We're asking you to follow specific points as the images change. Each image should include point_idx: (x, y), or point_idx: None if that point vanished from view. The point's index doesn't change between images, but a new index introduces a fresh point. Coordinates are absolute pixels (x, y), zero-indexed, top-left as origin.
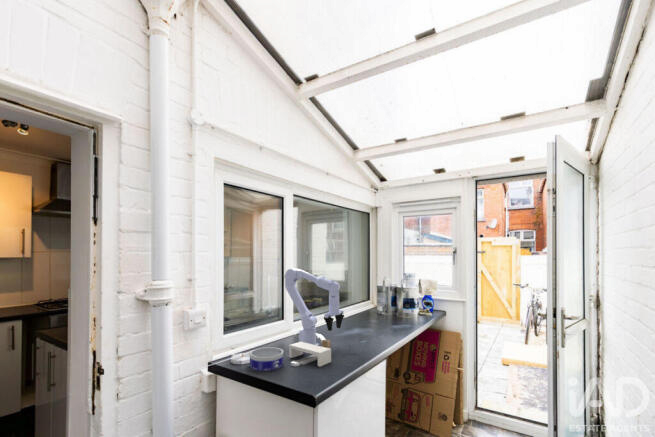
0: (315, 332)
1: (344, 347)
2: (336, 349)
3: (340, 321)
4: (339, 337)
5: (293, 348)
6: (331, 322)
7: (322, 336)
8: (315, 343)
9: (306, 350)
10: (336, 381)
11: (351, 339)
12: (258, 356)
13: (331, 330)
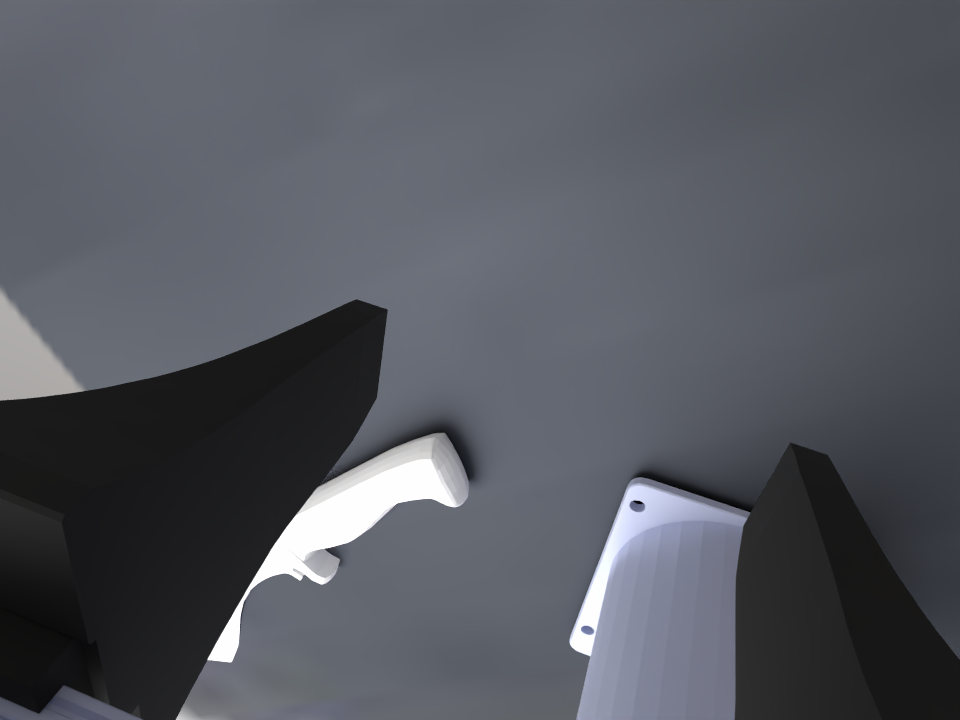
0: (696, 701)
1: (574, 4)
2: (791, 108)
3: (260, 410)
4: (113, 323)
5: None
6: (955, 693)
7: (299, 530)
8: (708, 537)
9: None
10: None
11: (58, 105)
12: None
13: (800, 449)
